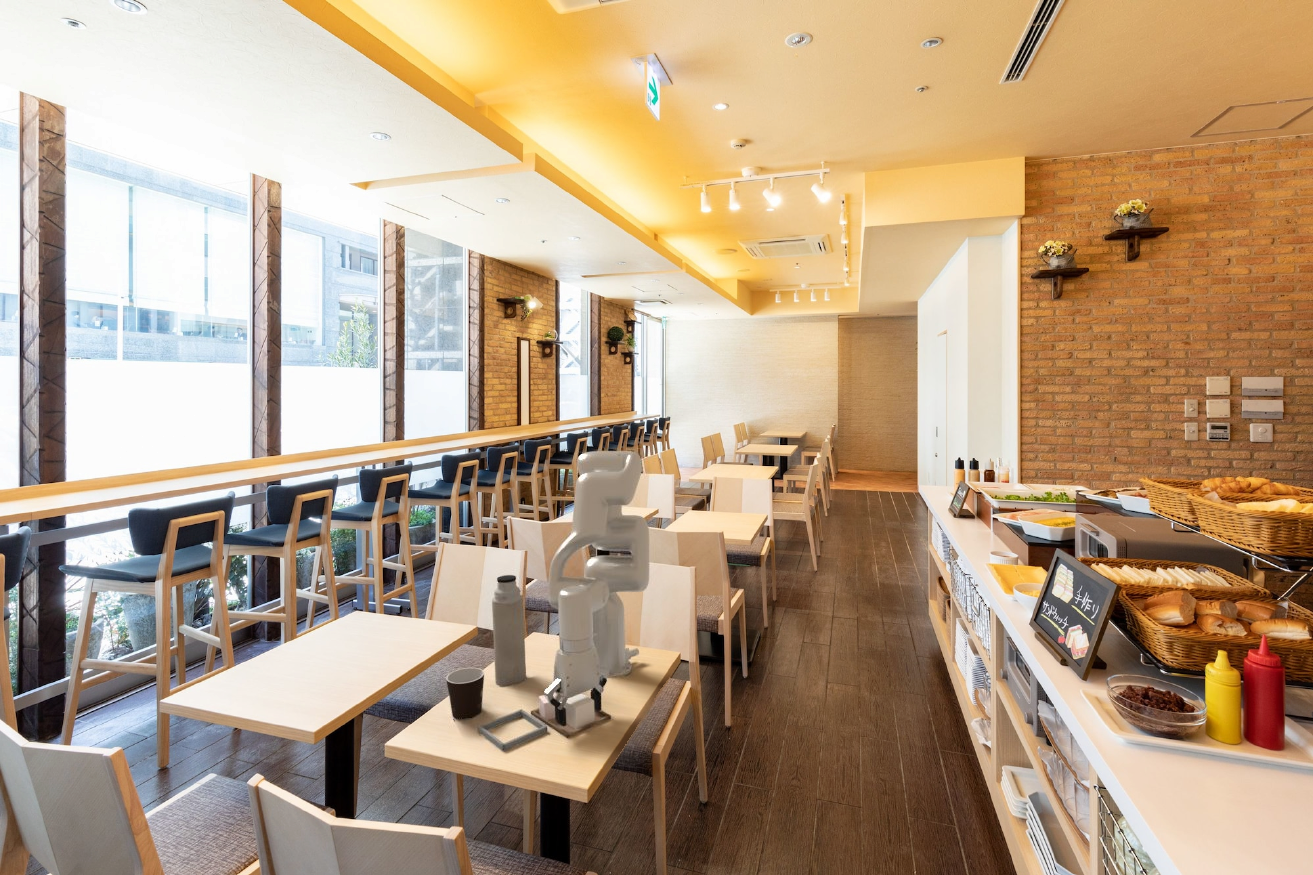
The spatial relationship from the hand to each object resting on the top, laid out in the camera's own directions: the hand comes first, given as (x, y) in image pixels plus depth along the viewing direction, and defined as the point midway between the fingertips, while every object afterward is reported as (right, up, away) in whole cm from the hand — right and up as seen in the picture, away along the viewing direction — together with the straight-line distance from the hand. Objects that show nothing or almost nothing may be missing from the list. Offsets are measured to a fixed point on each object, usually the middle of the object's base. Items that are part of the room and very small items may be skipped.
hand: (579, 716), depth 145 cm
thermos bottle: (-21, -2, +25) cm, 33 cm away
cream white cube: (0, -1, 0) cm, 1 cm away
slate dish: (-14, -3, -3) cm, 15 cm away
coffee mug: (-27, -3, +7) cm, 28 cm away
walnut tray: (-2, -2, +3) cm, 4 cm away
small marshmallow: (-7, -1, +4) cm, 8 cm away
